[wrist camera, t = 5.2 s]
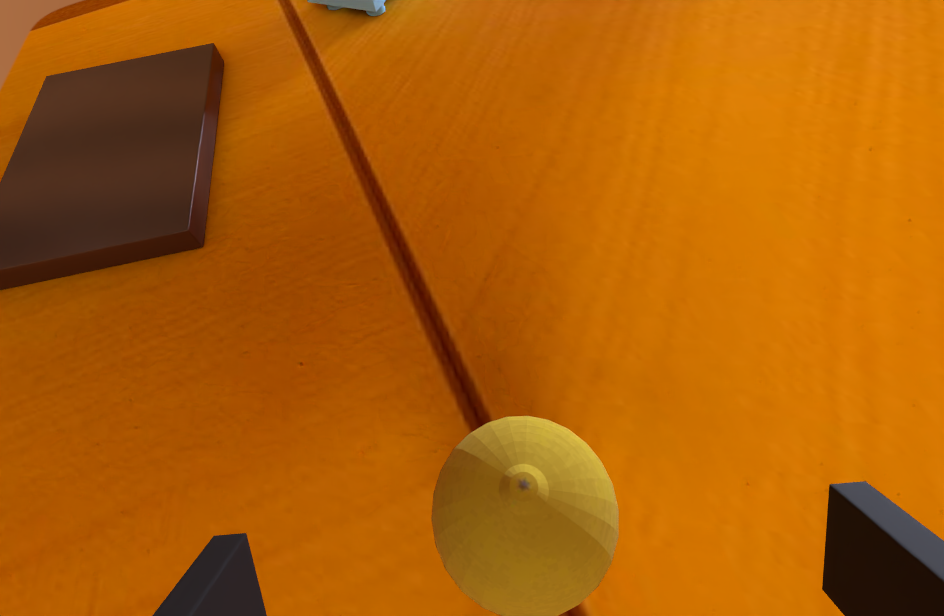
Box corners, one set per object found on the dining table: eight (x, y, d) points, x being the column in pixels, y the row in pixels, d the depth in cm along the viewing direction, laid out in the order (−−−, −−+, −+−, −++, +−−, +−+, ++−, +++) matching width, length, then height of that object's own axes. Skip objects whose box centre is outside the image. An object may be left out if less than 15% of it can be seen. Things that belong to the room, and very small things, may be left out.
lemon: (626, 515, 18) (688, 461, 12) (543, 656, 16) (557, 694, 10) (506, 428, 20) (499, 340, 14) (419, 544, 18) (359, 509, 12)
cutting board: (203, 247, 27) (188, 230, 26) (-16, 294, 27) (-43, 278, 26) (224, 62, 37) (213, 42, 35) (62, 94, 36) (45, 75, 35)
